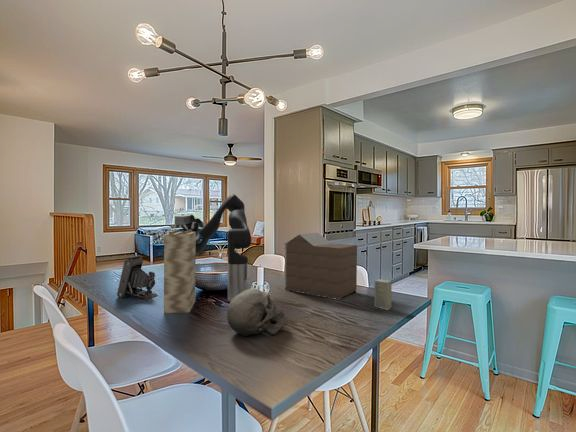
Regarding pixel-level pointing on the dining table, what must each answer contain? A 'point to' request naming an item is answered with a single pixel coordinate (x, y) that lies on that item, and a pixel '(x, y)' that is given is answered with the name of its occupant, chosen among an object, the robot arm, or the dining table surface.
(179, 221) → the bar
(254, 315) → the skull
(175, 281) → the post
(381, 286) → the skincare box
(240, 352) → the dining table surface
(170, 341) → the dining table surface
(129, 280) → the camera
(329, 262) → the building model
